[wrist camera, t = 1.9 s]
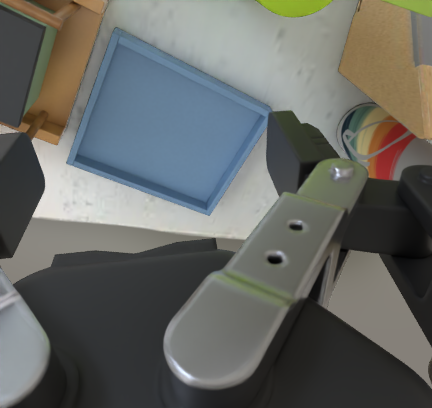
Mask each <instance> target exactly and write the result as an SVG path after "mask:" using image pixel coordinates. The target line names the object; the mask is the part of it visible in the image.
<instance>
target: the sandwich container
mask: <svg viewBox="0 0 432 408" xmlns="http://www.w3.org/2000/svg"><path fill="white" fill-rule="evenodd" d="M338 71H339V72H340V73H341V74H342V75H343V76H344V77H346V78H347V79H348V80H349V81H350V82H351V83H353V84H354V85H355V86H356V87H357V88H359V89H360V90H361V91H362V92H363V93H365V94H366V95H367V96H368V97H369V98H371V99H372V100H373V101H374V102H376V103H377V104H378V105H379V106H380V107H382V108H383V109H384V110H385V111H386V112H388V113H389V114H390V115H391V116H393V117H394V118H395V119H396V120H397V121H399V122H400V123H401V124H402V125H403V126H405V127H406V128H407V129H408V130H409V131H411V132H412V133H413V134H414V135H416V136H417V137H418V138H420V139H427V140H432V17H428V16H425V15H422V14H419V13H416V12H413V11H410V10H407V9H404V8H401V7H398V6H396V5H393V4H390V3H387V2H384V1H381V0H359V3H358V6H357V9H356V12H355V14H354V16H353V20H352V23H351V27H350V30H349V34H348V37H347V41H346V44H345V48H344V51H343V55H342V58H341V62H340V65H339V69H338Z"/></svg>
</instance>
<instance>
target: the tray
mask: <svg viewBox="0 0 432 408" xmlns="http://www.w3.org/2000/svg"><path fill="white" fill-rule="evenodd" d="M270 112H273V111H272V110H271V108H270V107H269V106H267V105H265V104H263V103H262V102H260V101H258V100H256V99H254V98H252V97H250V96H248V95H246V94H244V93H242V92H240V91H238V90H236V89H234V88H232V87H231V86H229V85H227V84H225V83H223V82H221V81H219V80H217V79H215V78H213V77H211V76H209V75H207V74H205V73H203V72H202V71H200V70H198V69H196V68H194V67H192V66H190V65H188V64H186V63H184V62H182V61H180V60H178V59H176V58H174V57H173V56H171V55H169V54H167V53H165V52H163V51H161V50H159V49H157V48H155V47H153V46H151V45H149V44H147V43H145V42H143V41H142V40H140V39H138V38H136V37H134V36H132V35H130V34H128V33H126V32H124V31H122V30H120V29H118V28H115V29H114V31H113V33H112V36H111V38H110V41H109V44H108V47H107V50H106V53H105V55H104V58H103V61H102V64H101V67H100V69H99V72H98V75H97V78H96V81H95V83H94V86H93V89H92V92H91V95H90V98H89V100H88V103H87V106H86V109H85V112H84V114H83V117H82V120H81V123H80V126H79V129H78V131H77V134H76V137H75V140H74V143H73V145H72V148H71V151H70V154H69V157H68V160H67V162H66V163H67V164H69V165H73V166H74V167H77V168H80V169H83V170H85V171H88V172H91V173H94V174H96V175H99V176H102V177H105V178H107V179H110V180H113V181H115V182H118V183H121V184H124V185H126V186H129V187H132V188H135V189H137V190H140V191H143V192H145V193H148V194H151V195H154V196H156V197H159V198H162V199H165V200H167V201H170V202H173V203H176V204H178V205H181V206H184V207H186V208H189V209H192V210H195V211H197V212H200V213H203V214H205V215H208V216H210V214H211V213H212V211H213V210H214V208H215V207H216V205H217V203H218V202H219V200H220V199H221V197H222V196H223V194H224V193H225V191H226V189H227V188H228V186H229V185H230V183H231V182H232V180H233V178H234V177H235V175H236V174H237V172H238V171H239V169H240V168H241V166H242V164H243V163H244V161H245V160H246V158H247V157H248V155H249V154H250V152H251V150H252V149H253V147H254V146H255V144H256V143H257V141H258V140H259V138H260V136H261V135H262V133H263V132H264V130H265V129H266V127H267V124H268V115H269V113H270Z"/></svg>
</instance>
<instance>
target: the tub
mask: <svg viewBox="0 0 432 408" xmlns="http://www.w3.org/2000/svg"><path fill="white" fill-rule="evenodd" d="M25 1H27V2H29V3H31V4H33V5H35V6H37V7H39V8H41V9H43V10H45V11H47V12H49V13H51V14H53V13H55V11H53V10H51V9H49V8H47V7H45V6H43V5H41V4H39V3H37V2H35V1H33V0H25ZM56 34H57V29H55V28H53V27H51V26H49V25H47V24H45V23H43V22H41V21H39V20H37V19H34V18H32V17H30V16H28V15H26V14H24V13H22V12H20V11H18V10H16V9H14V8H12V7H10V6H8V5H6V4H4V3H2V2H0V122H3V123H5V124H8V125H11V126H13V127H16V128H18V127H19V126H20V125H21V122H22V118H23V116H24V115H25V114H26V112H27V111H28V110H29V109H30V107H31V106H32V105H33V104H34V103H35V101H36V100H37V99H38V98H39V94H40V91H41V87H42V83H43V80H44V76H45V73H46V69H47V66H48V62H49V58H50V55H51V51H52V48H53V44H54V41H55V37H56Z"/></svg>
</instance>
